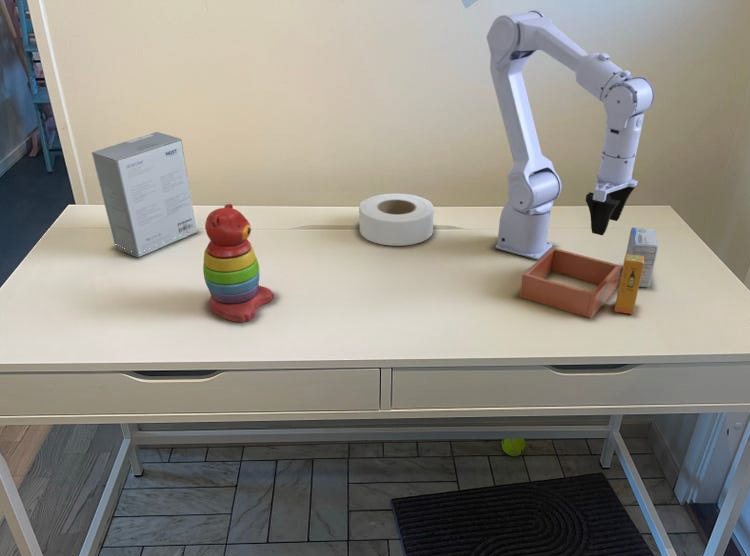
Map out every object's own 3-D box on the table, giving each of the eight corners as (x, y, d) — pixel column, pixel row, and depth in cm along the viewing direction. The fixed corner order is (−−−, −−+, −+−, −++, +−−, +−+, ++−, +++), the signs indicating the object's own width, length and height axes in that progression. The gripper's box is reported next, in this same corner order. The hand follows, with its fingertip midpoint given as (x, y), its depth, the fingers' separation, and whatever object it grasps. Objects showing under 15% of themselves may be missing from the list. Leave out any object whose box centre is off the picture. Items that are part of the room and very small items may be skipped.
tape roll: (366, 213, 160) (365, 190, 157) (436, 218, 159) (437, 194, 155) (352, 243, 147) (351, 218, 144) (428, 249, 146) (429, 223, 143)
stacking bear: (247, 324, 121) (234, 226, 111) (195, 313, 124) (179, 217, 114) (278, 295, 129) (269, 202, 119) (229, 285, 132) (216, 193, 122)
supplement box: (634, 306, 128) (645, 255, 122) (632, 315, 125) (644, 263, 120) (615, 302, 129) (625, 252, 123) (613, 312, 126) (624, 260, 120)
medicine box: (649, 288, 133) (659, 246, 128) (624, 286, 134) (633, 243, 129) (646, 269, 140) (655, 228, 135) (622, 267, 140) (631, 226, 135)
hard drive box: (174, 223, 155) (158, 130, 143) (198, 232, 151) (183, 138, 140) (113, 248, 144) (90, 150, 133) (137, 259, 140) (116, 159, 129)
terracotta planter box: (519, 296, 130) (522, 274, 128) (549, 268, 140) (552, 247, 137) (591, 318, 124) (595, 295, 122) (616, 287, 134) (621, 265, 131)
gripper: (628, 169, 117) (613, 245, 124) (654, 146, 127) (638, 218, 134) (586, 161, 120) (574, 236, 127) (615, 139, 130) (602, 209, 137)
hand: (605, 226), depth 131 cm, fingers open, 7 cm apart
